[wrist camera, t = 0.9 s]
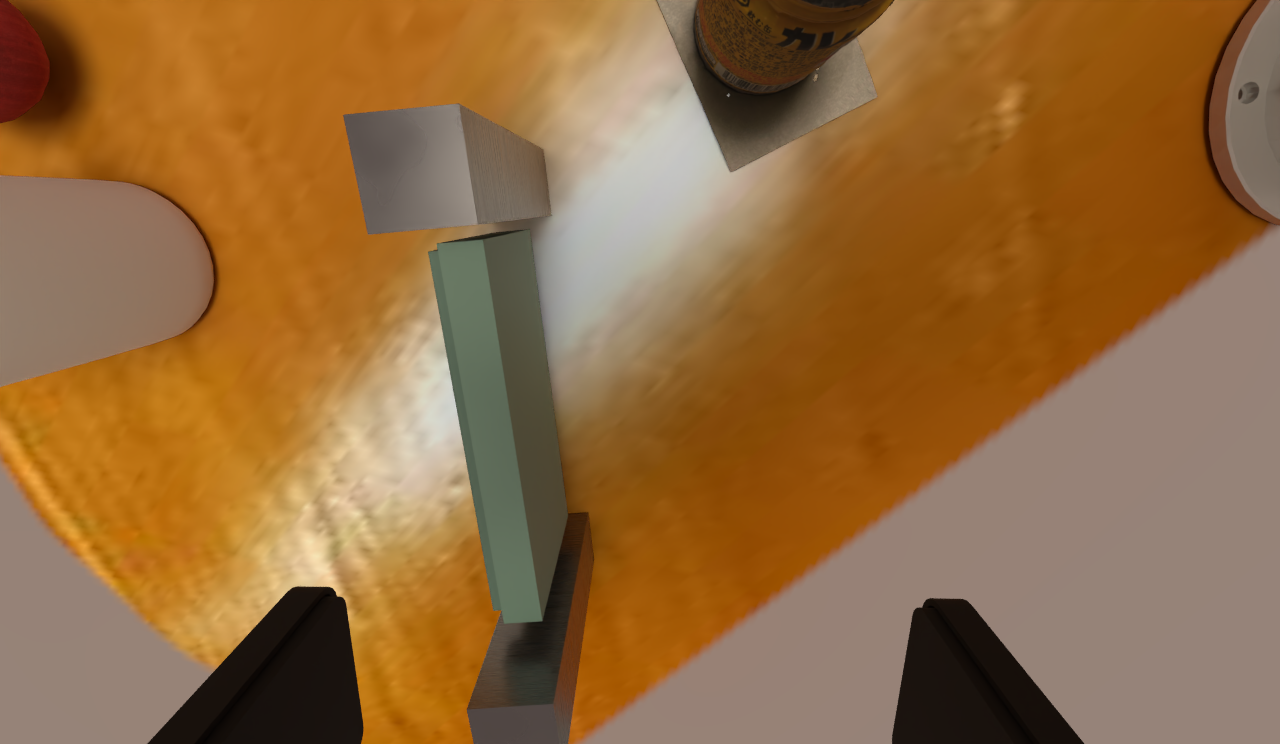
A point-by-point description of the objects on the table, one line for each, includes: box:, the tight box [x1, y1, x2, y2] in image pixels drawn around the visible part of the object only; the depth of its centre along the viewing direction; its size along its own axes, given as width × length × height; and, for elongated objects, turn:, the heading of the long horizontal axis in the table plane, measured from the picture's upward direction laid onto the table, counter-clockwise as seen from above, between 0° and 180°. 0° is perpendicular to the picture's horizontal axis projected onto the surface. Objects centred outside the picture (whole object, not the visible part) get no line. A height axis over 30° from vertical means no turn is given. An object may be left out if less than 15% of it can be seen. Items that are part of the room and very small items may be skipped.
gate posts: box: [343, 104, 594, 744], centre depth 24 cm, size 3×22×13 cm, turn 5°
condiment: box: [657, 0, 894, 172], centre depth 21 cm, size 7×8×12 cm
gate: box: [428, 229, 568, 624], centre depth 25 cm, size 14×2×8 cm, turn 5°
